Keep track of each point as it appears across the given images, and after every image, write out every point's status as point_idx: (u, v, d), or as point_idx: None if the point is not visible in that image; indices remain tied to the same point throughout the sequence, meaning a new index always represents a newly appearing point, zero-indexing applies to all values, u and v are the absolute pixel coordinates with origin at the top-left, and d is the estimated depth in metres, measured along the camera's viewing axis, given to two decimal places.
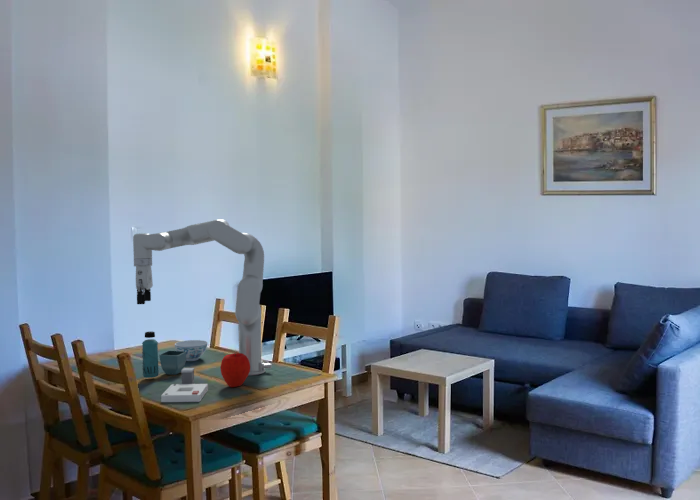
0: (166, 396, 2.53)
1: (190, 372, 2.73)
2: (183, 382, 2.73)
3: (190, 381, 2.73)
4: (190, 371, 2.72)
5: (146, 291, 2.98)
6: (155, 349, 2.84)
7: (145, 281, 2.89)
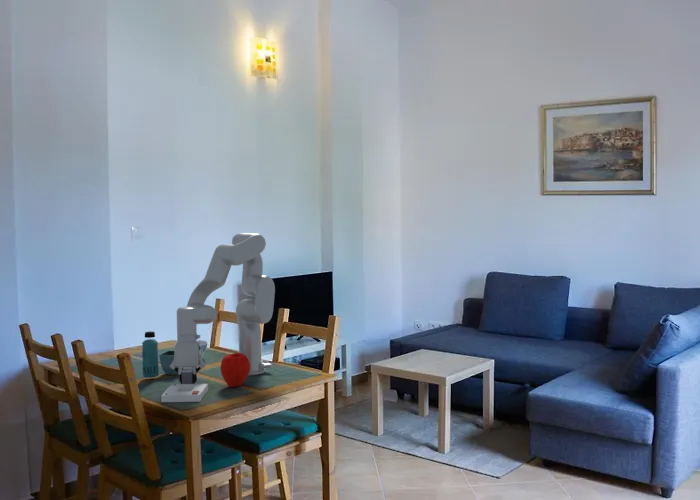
0: (166, 396, 2.53)
1: (190, 372, 2.73)
2: (183, 382, 2.73)
3: (190, 381, 2.73)
4: (190, 371, 2.72)
5: None
6: (155, 349, 2.84)
7: (200, 355, 2.76)
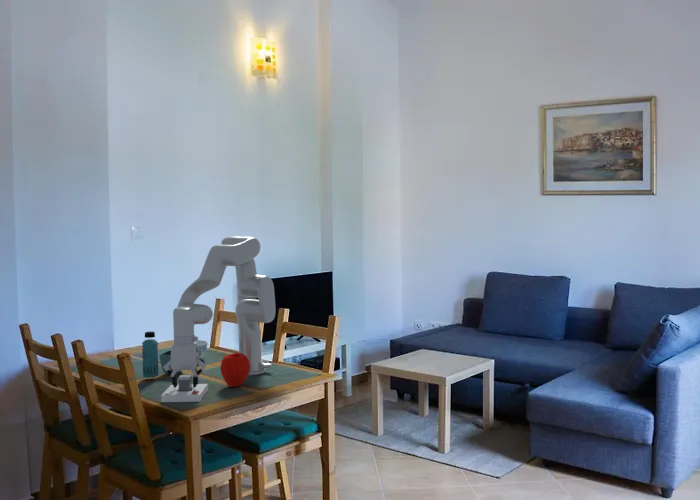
0: (166, 396, 2.53)
1: (187, 379, 2.59)
2: (180, 390, 2.59)
3: (187, 389, 2.59)
4: (187, 378, 2.58)
5: (176, 375, 2.60)
6: (155, 349, 2.84)
7: (198, 358, 2.62)
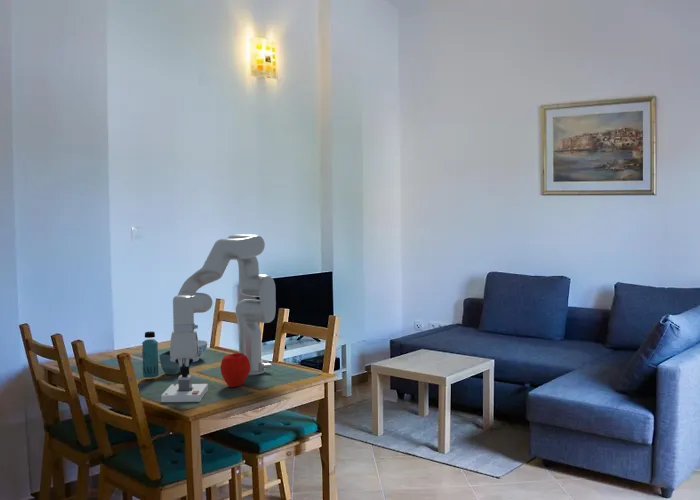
0: (166, 396, 2.53)
1: (187, 379, 2.59)
2: (180, 390, 2.59)
3: (187, 389, 2.59)
4: (187, 378, 2.58)
5: None
6: (155, 349, 2.84)
7: (198, 346, 2.62)
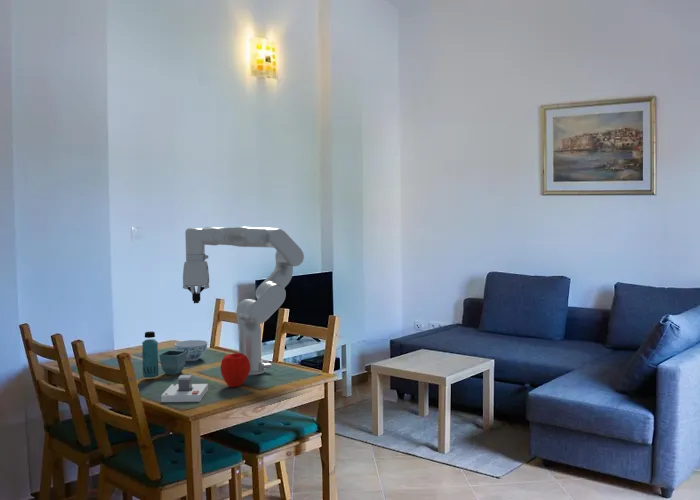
0: (166, 396, 2.53)
1: (187, 379, 2.59)
2: (180, 390, 2.59)
3: (187, 389, 2.59)
4: (187, 378, 2.58)
5: None
6: (155, 349, 2.84)
7: (208, 276, 2.84)
